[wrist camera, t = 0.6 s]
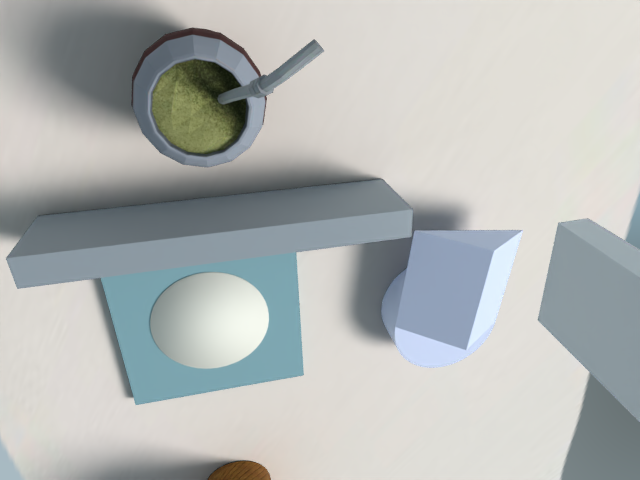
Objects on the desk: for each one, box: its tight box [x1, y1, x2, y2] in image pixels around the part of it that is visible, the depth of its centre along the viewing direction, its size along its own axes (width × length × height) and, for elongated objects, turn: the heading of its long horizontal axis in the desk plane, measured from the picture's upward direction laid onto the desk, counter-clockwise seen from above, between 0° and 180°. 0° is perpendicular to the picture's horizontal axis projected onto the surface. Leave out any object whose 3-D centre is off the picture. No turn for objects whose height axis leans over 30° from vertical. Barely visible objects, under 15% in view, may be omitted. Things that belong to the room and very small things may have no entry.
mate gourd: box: [132, 28, 324, 167], centre depth 24 cm, size 8×8×15 cm
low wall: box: [6, 179, 413, 289], centre depth 32 cm, size 2×24×6 cm, turn 92°
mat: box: [101, 252, 304, 405], centre depth 38 cm, size 14×14×1 cm
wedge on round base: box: [381, 230, 523, 368], centre depth 39 cm, size 9×7×13 cm
